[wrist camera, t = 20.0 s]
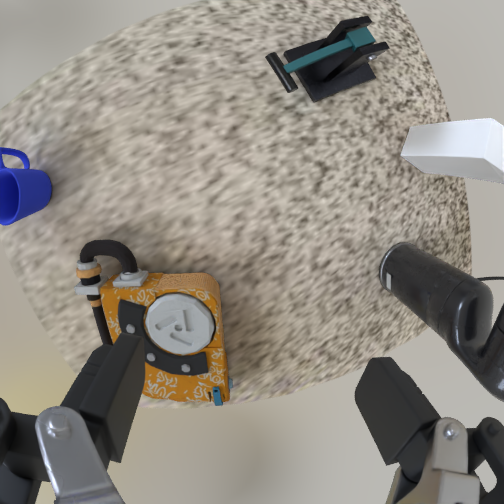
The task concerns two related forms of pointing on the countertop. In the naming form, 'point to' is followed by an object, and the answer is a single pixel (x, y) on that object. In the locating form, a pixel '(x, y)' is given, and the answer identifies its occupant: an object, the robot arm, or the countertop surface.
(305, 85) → the bracket
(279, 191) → the countertop surface
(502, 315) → the robot arm
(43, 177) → the mug
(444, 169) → the milk
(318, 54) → the lever
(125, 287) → the device
